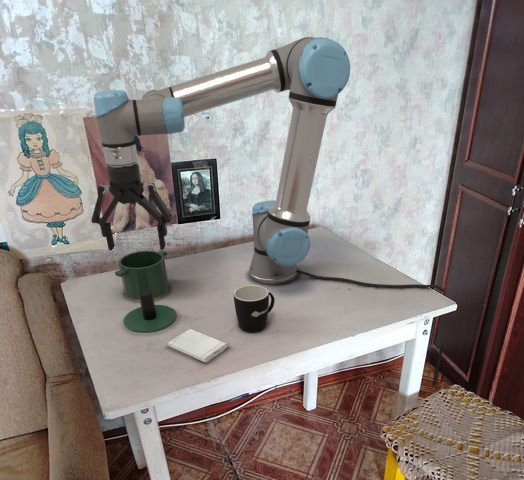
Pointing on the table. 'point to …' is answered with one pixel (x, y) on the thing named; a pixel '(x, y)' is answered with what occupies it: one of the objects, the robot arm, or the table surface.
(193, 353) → the hard drive
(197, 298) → the table surface
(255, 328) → the mug
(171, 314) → the lid
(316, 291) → the table surface
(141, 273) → the pot
